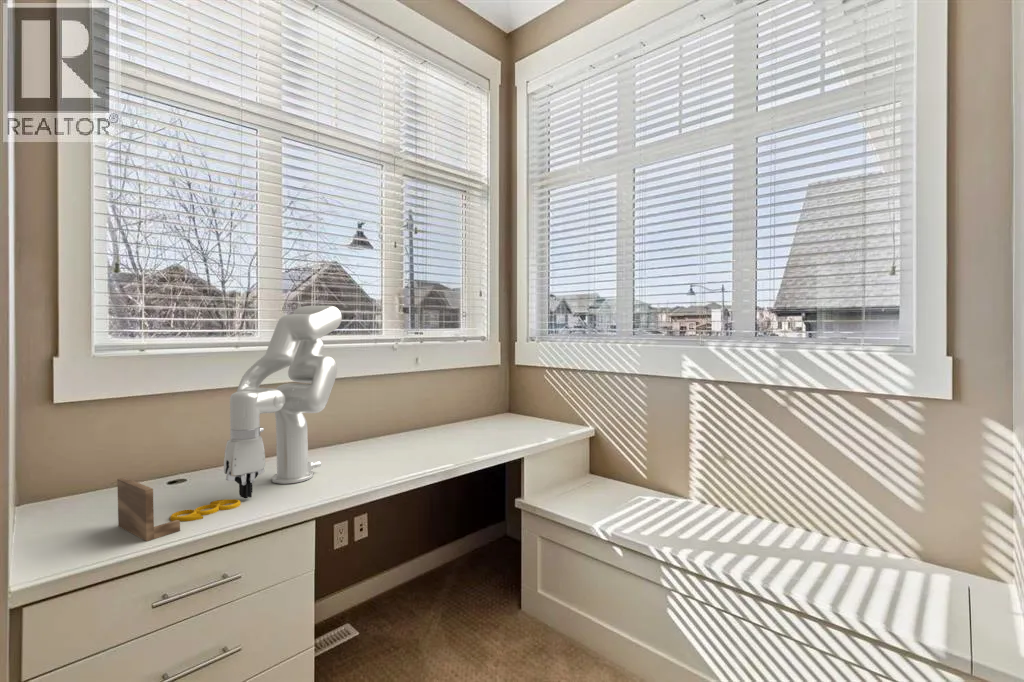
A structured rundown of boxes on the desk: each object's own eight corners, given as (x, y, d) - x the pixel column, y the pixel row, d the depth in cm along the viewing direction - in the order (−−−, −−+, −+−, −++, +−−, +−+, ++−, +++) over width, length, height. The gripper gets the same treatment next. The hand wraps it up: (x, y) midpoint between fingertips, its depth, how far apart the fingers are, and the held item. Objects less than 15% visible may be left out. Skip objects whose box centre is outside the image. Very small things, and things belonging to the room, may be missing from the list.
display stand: (150, 517, 128) (149, 472, 128) (180, 530, 119) (179, 482, 119) (118, 526, 122) (117, 479, 122) (146, 541, 113) (145, 490, 113)
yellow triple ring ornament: (246, 509, 134) (234, 500, 141) (246, 503, 134) (234, 495, 141) (174, 527, 122) (166, 516, 129) (174, 521, 122) (166, 511, 129)
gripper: (262, 428, 149) (263, 487, 149) (211, 437, 136) (212, 502, 136) (277, 431, 145) (277, 492, 145) (225, 440, 132) (226, 507, 132)
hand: (245, 496), depth 141 cm, fingers closed
